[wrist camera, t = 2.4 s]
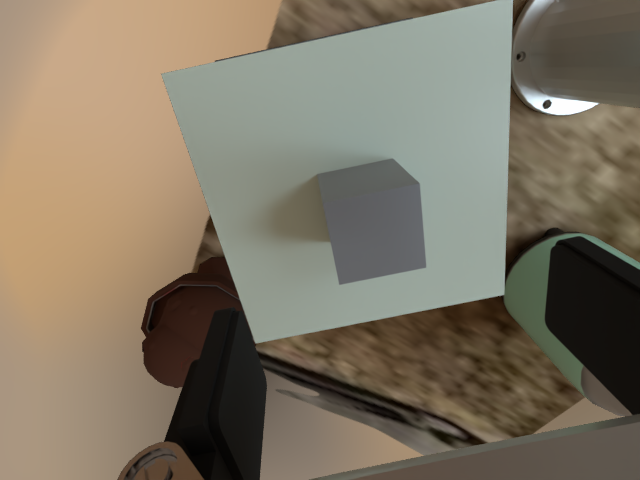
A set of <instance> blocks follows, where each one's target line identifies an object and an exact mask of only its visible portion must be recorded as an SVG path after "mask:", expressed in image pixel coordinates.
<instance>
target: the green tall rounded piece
mask: <svg viewBox="0 0 640 480" xmlns="http://www.w3.org/2000/svg"><path fill="white" fill-rule="evenodd" d="M576 236H581V237H584V238H586V239H587V240H589V241H591V242H593V243H594V244H596V245H598V246H600V247H601V248H603V249H605V250H607V251H608V252H610V253H612V254H614V255H615V256H617V257H619V258H620V259H622V260H624V261H626V262H627V263H629V264H631V265H633V266H634V267H636V268H638V269H640V263H639V262H637V261H636V260H634V259H632V258H630V257H629V256H627V255H625V254H623V253H622V252H620V251H618V250H617V249H615V248H613V247H611V246H610V245H608V244H606V243H604V242H603V241H601V240H599V239H598V238H596V237H594V236H592V235H587V234H583V233H579V232H563V231H561V230H560V229H558V228H552V229H550V230H548V231H547V233H546V234H545V237H544V238H542V239H540V240H538V241H536V242H534V243H532V244H531V245H529V246H528V247H527V248H526V249H524V250H523V251H522V252H520V254H519V255H518V256H517V257H516V258H515V259H514V260H513V262H512V263H511V264H510V266H509V268H508V270H507V271H506V273H505V291H504V295H502V299H503V302H504V304H505V307H506V309H507V311H508V313H509V314H510V315H511V316H512V317H513V318H514V319H515V320H516V322H517V323H518V324H519V325H520V326H521V327H522V328H523V330H524V331H525V332H526V333H527V334H528V335H529V336H530V337H531V339H532V340H533V341H534V342H535V343H536V344H537V345H538V346H539V348H540V349H541V350H542V351H543V352H544V353H545V354H546V355H547V357H548V358H549V359H550V360H551V361H552V362H553V363H554V365H555V366H556V367H557V368H558V369H559V370H560V371H561V372H562V374H563V375H564V376H565V377H566V378H567V379H568V380H569V381H570V382H571V383H572V384H573V385H574V386H575V387H576V388H577V389H578V390H579V391H580V392H581V393H582V394H583V395H584V396H585V397H586V398H587V399H588V400H590V401H591V402H592V403H593V404H595V405H597V406H599V407H601V408H603V409H605V410H608V411H610V412H612V413H614V414H616V415H620V416H625V417H626V416H632V414H631V413H630V412H629V411H628V410H627V409H626V408H625V407H624V406H623V405H622V404H621V403H620V402H619V401H618V400H617V399H616V398H615V397H614V396H613V395H612V394H611V393H610V392H609V391H608V390H607V389H606V388H605V387H604V386H603V385H602V383H601V382H600V381H599V380H598V379H597V378H596V377H595V376H594V375H593V374H592V373H591V372H590V371H589V370H588V369H587V368H586V367H585V366H584V365H583V364H582V363H581V362H580V361H579V360H578V359H577V358H576V357H575V356H574V355H573V354H572V353H571V352H570V351H569V350H568V349H567V348H566V347H565V346H564V345H563V344H562V343H561V342H560V341H559V340H558V339H557V338H556V337H555V336H554V335H553V334H552V333H551V332H550V331H549V329H548V328H547V326H546V324H545V308H546V296H547V285H548V273H549V262H550V251H551V248H552V247H553V246H555V244H556V242H557V241H559V240H562V239H566V238H571V237H576Z"/></svg>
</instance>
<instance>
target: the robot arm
mask: <svg viewBox="0 0 640 480" xmlns="http://www.w3.org/2000/svg"><path fill="white" fill-rule="evenodd" d="M517 55H518V58H517V59H516V56H517ZM511 84H512V87H513V89H514V91H515V92H516V94H517V96H518V97H519V98H520V99H521V100H522V102H523V103H524V104H525V105H527V106H528V107H530V108H531V109H533V110H535V111H538V112H541V113H544V114H548V115H554V116H567V115H572V114H577V113H580V112H583V111H586V110H588V109H591V108H592V107H594V106H596V105H598V104H599V103H600V104H609V105H617V106H625V107H634V108H640V0H529V1H528V2H527V3H526V5H525V6H524V8H523V10H522V12H521V13H520V15H519V17H518V19H517V21H516V24H515V26H514V29H513V31H512V51H511ZM543 102H544V103H543ZM545 324H546V326H547V328H548V329H549V331H550V332H551V333H552V334H553V335H554V336H555V337H556V338H557V339H558V340H559V341H560V342H561V343H562V344H563V345H564V346H565V347H566V348H567V349H568V350H569V351H570V352H571V353H572V354H573V355H574V356H575V357H576V358H577V359H578V360H579V361H580V362H581V363H582V364H583V365H584V366H585V367H586V368H587V369H588V370H589V371H590V372H591V373H592V374H593V375H594V376H595V377H596V378H597V379H598V380H599V381H600V382H601V383H602V385H603V386H604V387H605V388H606V389H607V390H608V391H609V392H610V393H611V394H612V395H613V396H614V397H615V398H616V399H617V400H618V401H619V402H620V403H621V404H622V405H623V406H624V407H625V408H626V409H627V410H628V411H629V412H630V413H631V414H632V416H626V417H621V418H616V419H611V420H605V421H601V422H595V423H590V424H584V425H579V426H574V427H568V428H563V429H558V430H553V431H548V432H543V433H538V434H533V435H527V436H522V437H517V438H512V439H507V440H502V441H497V442H492V443H487V444H481V445H476V446H471V447H466V448H461V449H456V450H451V451H446V452H441V453H436V454H431V455H426V456H421V457H416V458H411V459H406V460H401V461H396V462H392V463H387V464H382V465H377V466H372V467H367V468H362V469H357V470H352V471H347V472H342V473H338V474H333V475H329V476H324V477H319V478H315V479H310V480H640V269H638V268H636V267H634V266H633V265H631V264H629V263H627V262H626V261H624V260H622V259H620V258H619V257H617V256H615V255H614V254H612V253H610V252H608V251H607V250H605V249H603V248H601V247H600V246H598V245H596V244H594V243H593V242H591V241H589V240H587V239H586V238H584V237H581V236H576V237H571V238H566V239H562V240H559V241H557V242H556V244H555V246H553V247H552V248H551V251H550V262H549V273H548V285H547V296H546V308H545ZM266 389H267V384H266V377H265V374H264V371H263V368H262V365H261V362H260V359H259V356H258V353H257V351H256V348H255V345H254V342H253V339H252V336H251V334H250V331H249V328H248V325H247V322H246V319H245V316H244V314H243V312H242V311H241V310H240V311H236V309H235V308H234V307H231V308H226V309H221V310H216V311H215V312H214V314H213V317H212V320H211V323H210V326H209V329H208V332H207V336H206V339H205V342H204V345H203V348H202V351H201V354H200V358H199V359H196V360H194V361H193V362H192V363H191V365H190V367H189V370H188V373H187V376H186V379H185V382H184V385H183V388H182V391H181V393H180V396H179V400H178V402H177V405H176V408H175V411H174V414H173V417H172V420H171V423H170V426H169V429H168V432H167V435H166V437H165V440H164V442H159V443H156V444H154V445H151V446H149V447H147V448H145V449H144V450H143V451H141V452H139V453H138V454H137V455H136V456H135V457H134V458H133V459H132V460H130V461H129V462H128V464H127V465H126V466H125V468H124V469H123V470H122V471H121V473H120V475H119V477H118V479H117V480H260V467H261V454H262V440H263V428H264V416H265V403H266Z"/></svg>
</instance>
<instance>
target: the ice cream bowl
mask: <svg viewBox="0 0 640 480" xmlns="http://www.w3.org/2000/svg"><path fill="white" fill-rule="evenodd" d="M231 307H234V308H235V309H236V311H240V310H241V311H242V312H243V314H244V316H245V319H246V322H247V325H248V328H249V331H250V334H251V336H252V339H253V342H254V345H255V346H256V344H257V343H256V344H255V341H254V338H253V335H252V332H251V329H250V326H249V324H248V321H247V318H246V315H245V312H244V309H243V306H242V304H241V301H240V298H239V295H238V292H237V289H236V286H235V284H234V281H233V278H232V275H231V272H230V269H229V266H228V264H227V261H226V258H220V257H212V258H210V259H208V260H207V261H205V262H204V263H202V264H200V267H199V270H198V273H188V274H185V275H183V276H181V277H180V278H178V279H176V280H175V281H173V282H172V283H170V284H168V285H167V286H165V287H164V288H162V289H160V290H159V291H157V292H156V293H155V294H154V295H152V296H151V297H150V298H149V299H148V302H147V306H146V310H145V314H144V318H143V322H142V327H141V329H142V331H143V332H144V334H145V336H146V339H145V340H144V341H143V342H142V351H143V352H144V365H145V367H146V369H147V371H148V372H149V373H150V375H152V376H153V377H154V378H155V379H156V380H157V381H158V382H160V383H162V384H164V385H167V386H172V387H174V388H179V387H183V385H184V382H185V379H186V376H187V373H188V370H189V367H190V365H191V363H192V362H193V361H194V360H196V359H199V358H200V354H201V351H202V348H203V345H204V342H205V339H206V336H207V332H208V329H209V326H210V323H211V320H212V317H213V314H214V312H215V311H216V310H221V309H226V308H231Z"/></svg>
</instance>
